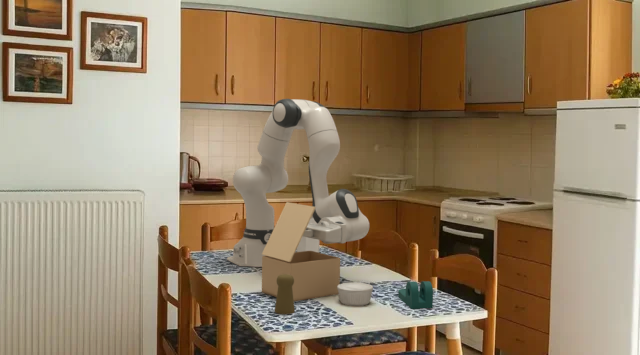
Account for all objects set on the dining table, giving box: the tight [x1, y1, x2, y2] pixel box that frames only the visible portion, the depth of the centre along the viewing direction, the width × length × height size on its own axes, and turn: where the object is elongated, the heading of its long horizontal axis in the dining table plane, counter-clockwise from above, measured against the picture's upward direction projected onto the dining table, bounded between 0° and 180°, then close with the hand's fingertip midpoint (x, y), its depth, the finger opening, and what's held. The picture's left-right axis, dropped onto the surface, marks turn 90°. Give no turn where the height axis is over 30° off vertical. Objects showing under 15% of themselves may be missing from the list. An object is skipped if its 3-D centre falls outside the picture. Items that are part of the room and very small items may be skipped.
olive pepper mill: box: [274, 274, 296, 315], centre depth 211 cm, size 6×6×11 cm
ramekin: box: [337, 281, 374, 307], centre depth 224 cm, size 11×11×5 cm
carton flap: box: [262, 201, 316, 262], centre depth 230 cm, size 15×19×1 cm
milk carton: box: [296, 215, 320, 253], centre depth 309 cm, size 7×7×19 cm
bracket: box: [397, 280, 434, 310], centre depth 227 cm, size 18×7×8 cm, turn 9°
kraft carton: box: [261, 251, 341, 303], centre depth 234 cm, size 16×20×12 cm
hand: (296, 233), depth 232 cm, fingers closed
